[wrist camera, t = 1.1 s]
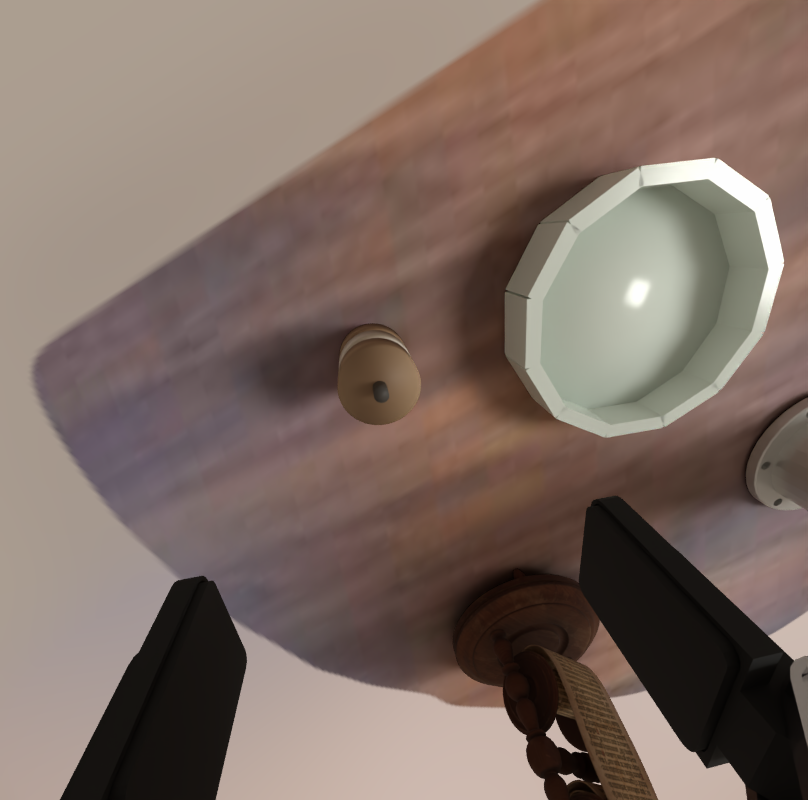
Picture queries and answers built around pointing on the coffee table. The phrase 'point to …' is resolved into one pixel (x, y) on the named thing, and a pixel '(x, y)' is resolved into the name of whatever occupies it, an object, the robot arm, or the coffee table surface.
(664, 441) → the coffee table surface
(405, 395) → the banded candle
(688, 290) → the round tray
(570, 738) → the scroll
